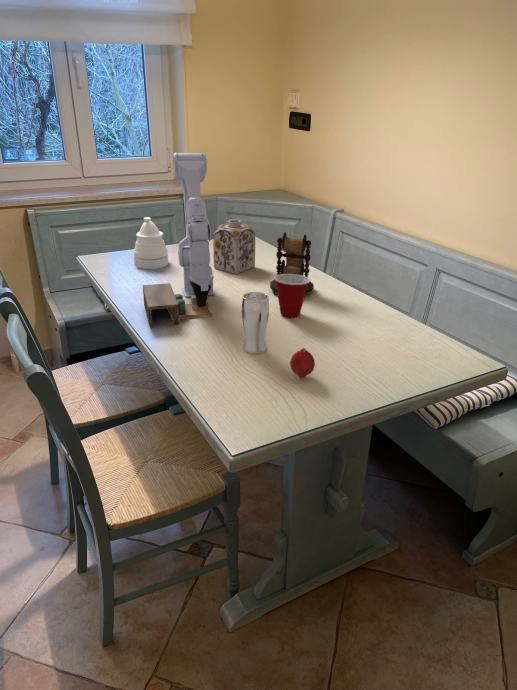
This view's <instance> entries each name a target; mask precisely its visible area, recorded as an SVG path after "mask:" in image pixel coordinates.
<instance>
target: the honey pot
mask: <svg viewBox="0 0 517 690" xmlns="http://www.w3.org/2000/svg"><path fill="white" fill-rule="evenodd" d="M151 219H152V218H151V217H149V216H148V217H146V216H145V217H143V221H144V222H143V223H142V225H141V227H140V229H139V231H138V232H137V233H136V235H135V236H136V237H137V238H136V241H135V245H134V249H133V262H134V267H136V268H139V269H144V270H146V269H147V270H150V269H151V270H154V269H161V268H164V267H166V266H168V265H169V253H168V248H167V246H166V244H165V241H164V238H163V236H164V232H163V231H160V230H159V229H158V226H157V225H156V224H155V223H154V222H153V221H151Z"/></svg>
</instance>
